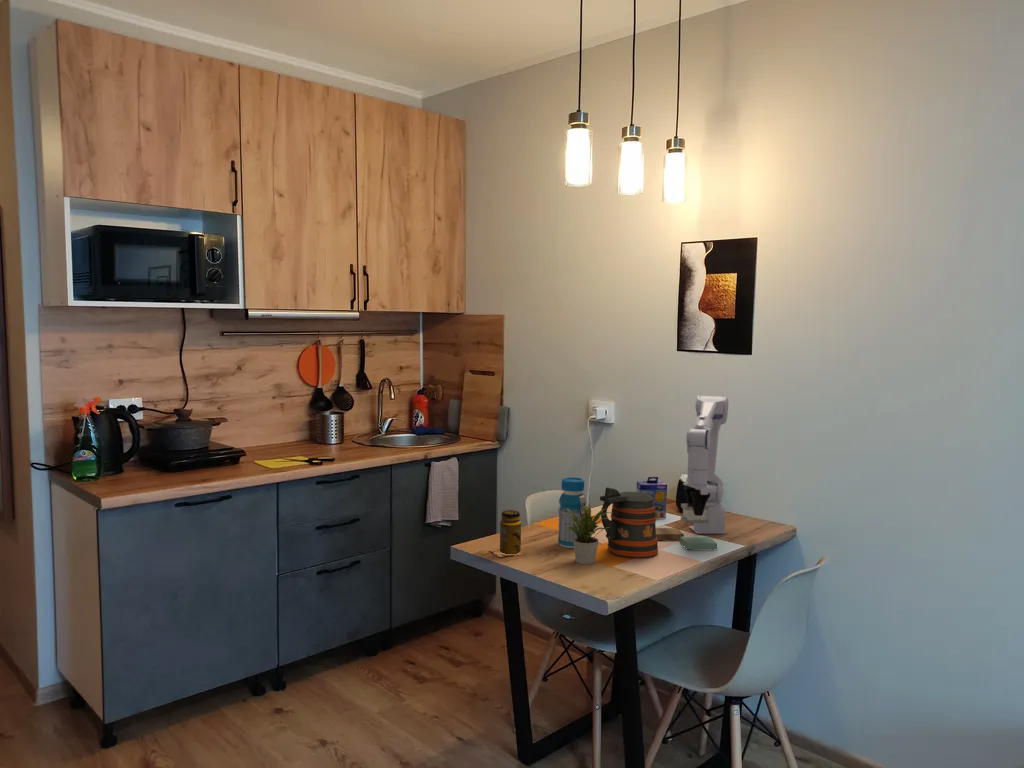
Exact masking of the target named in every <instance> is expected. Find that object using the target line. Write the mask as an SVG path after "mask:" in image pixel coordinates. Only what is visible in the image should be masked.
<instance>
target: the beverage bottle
mask: <svg viewBox="0 0 1024 768" xmlns="http://www.w3.org/2000/svg"><path fill="white" fill-rule="evenodd" d="M561 490H562V491H563V492H561V495H560V497H559V500H558V503H559V507H558V510H557V512H558V539H557V544H558V545H559V546H560V547H562V548H565V549H574V543H573V539H574V538H575V537H577V535H576V533H575V532H574V531H573V530H567V529H568V527H569V526H571V527H574V526H573V521H574V520H573V519H574V518H573V516H572V515H571V513H570V512H569V510H568V509H570V510H571V511H572V512H573V513H574V514H575V515H576V517H577V519H578V521H579V524H580V518H582V517H583V516H584V510H583V506H584V509H585V508H586V507H587V506H586V505H587V499H586V496H585V495H584V491H585V479H584V478H581V477H573V476H572V477H571V476H569V477H563V478H562V479H561ZM582 505H583V506H582ZM566 508H568V509H566ZM568 514H569V515H570V516H571V517H572V518H573V519H572V518H571V517H570V516H569V515H568ZM574 522H575V521H574ZM575 524H576V523H575ZM576 526H577V524H576ZM580 526H581V525H580ZM577 528H578V526H577ZM578 530H579V528H578ZM579 532H580V530H579ZM580 534H581V532H580ZM581 536H582V534H581Z"/></svg>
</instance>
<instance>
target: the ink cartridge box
mask: <svg viewBox="0 0 1024 768" xmlns="http://www.w3.org/2000/svg"><path fill="white" fill-rule="evenodd" d="M635 490H636V491H635V492H640V493H648V492H650V495H651V497H653V499H654V500H653V501H654V505H655V512H656V518H665V519H667V499H668V497H667V495H668V484H667V483H666V482H664V481H663V480H659V476H648V478H647V480H639V481H638V480H637V481H636V488H635Z"/></svg>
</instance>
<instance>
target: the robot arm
mask: <svg viewBox="0 0 1024 768" xmlns="http://www.w3.org/2000/svg"><path fill="white" fill-rule="evenodd" d="M695 413H696V417H695V419H694V421H693V424H692V427H691V428H690V429H687V431H686V432H687V433H686V440H685V441H686V442H685V443H686V453H687V475H686V476H687V477H686V480H685V481H684V482H683V483H682V485H683V486H684V487H683V489H682V490H683V491H684V493H685V496H686V499H687V503H693V504H694V513H695V515H696V516H702V515H703V512H704V508H705V505H707V506H708V510H706V518H707V519H708V523H693V525H689V529H691V530H692V531H694V532H695V534H697V535H698V534H699V535H701V534H702V535H703V534H706V535H707V534H710V535H712V534H726V530H725V529H726V509H725V506H724V504H723V503H722V502H723V495H724V494H723V492H724V488H723V484H724V483H723V481H722V479H721V478H720V477H719V475H717V474H716V468H717V467H716V465H717V455H718V446H719V445H718V443H719V432H720V429H721V426H722V425H724V424H726V423H727V420H728V413H729V398H728V397H727V396H725V395H724V396H717V395H701V394H698V395H697V396H696V398H695Z"/></svg>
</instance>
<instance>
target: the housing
mask: <svg viewBox="0 0 1024 768" xmlns="http://www.w3.org/2000/svg"><path fill="white" fill-rule="evenodd" d="M680 507H681V509H682V516H680V521H682V522H683V523H684V524H694V523H708V519H707V518H706V510H708V506H707V505H705V508H704V512H703V515H702V516H696V515H695V513H694V504H693V503H688V502H687V503H680Z"/></svg>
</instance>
